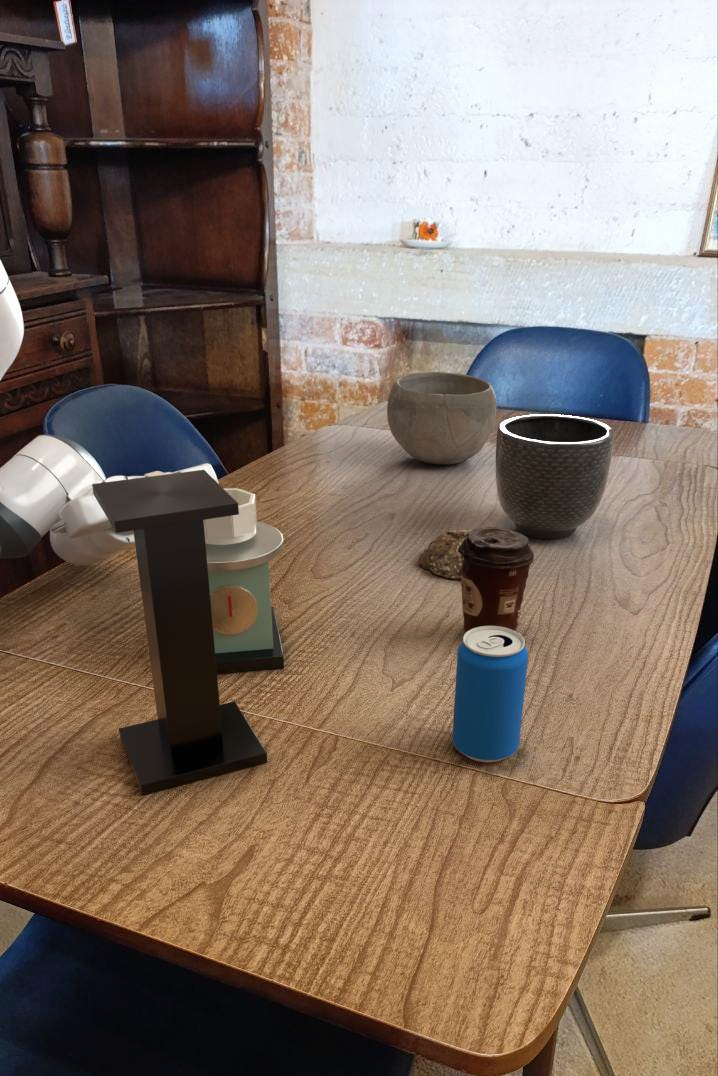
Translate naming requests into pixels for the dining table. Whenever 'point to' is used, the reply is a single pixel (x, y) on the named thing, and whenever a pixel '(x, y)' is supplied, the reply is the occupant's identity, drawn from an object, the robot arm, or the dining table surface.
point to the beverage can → (489, 693)
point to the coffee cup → (493, 577)
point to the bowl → (441, 415)
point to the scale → (244, 603)
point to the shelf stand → (178, 632)
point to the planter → (552, 472)
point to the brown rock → (444, 554)
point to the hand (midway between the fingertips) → (170, 481)
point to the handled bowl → (230, 519)
